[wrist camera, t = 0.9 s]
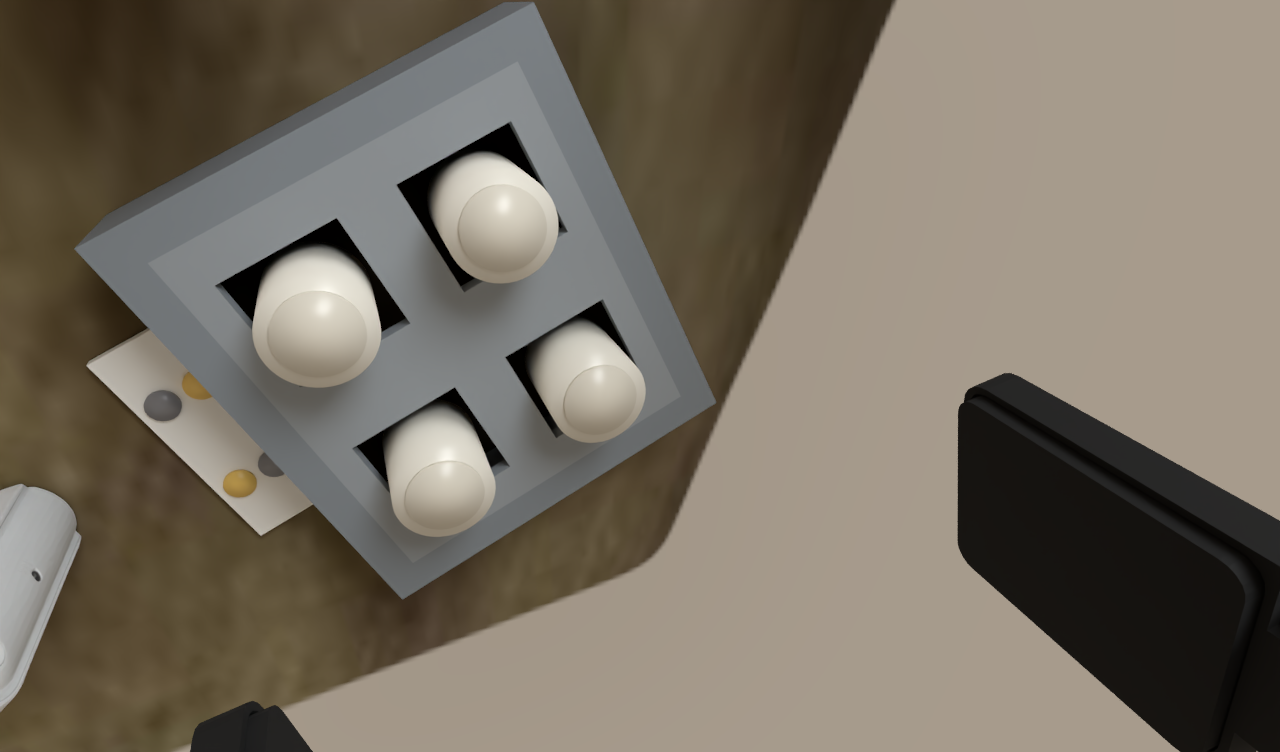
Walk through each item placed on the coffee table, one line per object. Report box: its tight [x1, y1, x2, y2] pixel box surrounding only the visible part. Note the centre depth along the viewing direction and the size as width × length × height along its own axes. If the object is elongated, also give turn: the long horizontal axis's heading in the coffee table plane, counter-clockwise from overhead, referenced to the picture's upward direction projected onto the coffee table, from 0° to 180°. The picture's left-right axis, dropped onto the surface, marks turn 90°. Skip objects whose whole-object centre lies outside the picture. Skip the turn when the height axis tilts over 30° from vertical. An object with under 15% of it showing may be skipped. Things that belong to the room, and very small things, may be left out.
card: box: [86, 328, 313, 536], centre depth 35 cm, size 4×11×1 cm, turn 25°
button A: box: [427, 149, 558, 284], centre depth 30 cm, size 4×4×5 cm
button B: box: [525, 315, 646, 443], centre depth 34 cm, size 4×4×5 cm
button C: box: [252, 241, 381, 388], centre depth 29 cm, size 4×4×5 cm
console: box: [74, 2, 716, 600], centre depth 34 cm, size 18×20×5 cm
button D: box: [382, 399, 496, 537], centre depth 33 cm, size 4×4×5 cm
